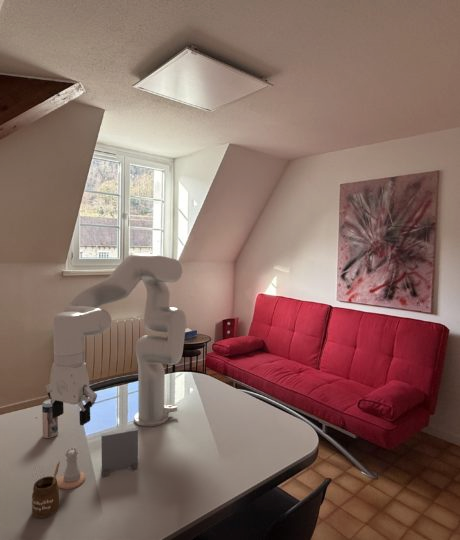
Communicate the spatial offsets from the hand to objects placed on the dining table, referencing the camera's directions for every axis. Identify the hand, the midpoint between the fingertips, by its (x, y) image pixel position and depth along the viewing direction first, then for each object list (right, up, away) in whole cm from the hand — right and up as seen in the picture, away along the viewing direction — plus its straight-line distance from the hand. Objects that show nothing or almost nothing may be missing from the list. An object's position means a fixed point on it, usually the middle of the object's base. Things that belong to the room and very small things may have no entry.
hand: (71, 419), depth 99 cm
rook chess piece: (0, -17, +1) cm, 17 cm away
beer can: (-18, -16, +24) cm, 34 cm away
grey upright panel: (+11, -17, +7) cm, 21 cm away
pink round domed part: (0, -17, +1) cm, 17 cm away
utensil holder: (-2, -18, -10) cm, 21 cm away
